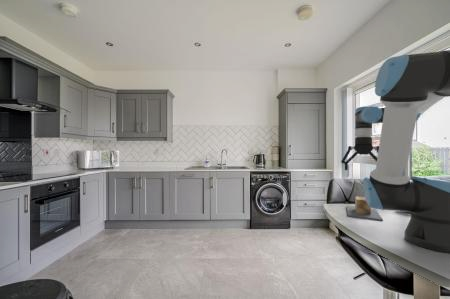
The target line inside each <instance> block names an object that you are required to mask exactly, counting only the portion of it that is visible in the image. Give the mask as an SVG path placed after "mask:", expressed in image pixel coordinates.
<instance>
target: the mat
mask: <svg viewBox="0 0 450 299" xmlns="http://www.w3.org/2000/svg"><path fill="white" fill-rule="evenodd" d="M345 208H346V213H347V217H349V218H357V219H366V220H370V221H371V220H372V221H380V222H383V220H384V219H383V218H382V216H381V215H380V213H379V212H378V209H375V208H371V215H367V214H359V213H356V210H355V206H351V205H346V206H345Z"/></svg>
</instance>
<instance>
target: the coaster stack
mask: <svg viewBox="0 0 450 299" xmlns="http://www.w3.org/2000/svg"><path fill="white" fill-rule="evenodd" d="M354 198H355V199H354V200H355V202H354V204H355V205H354V207H355V210H356V213H359V214H367V215H371V209H372V208H371V207H370V206H369V205H368V204H367V202H366V199H365V196H356V195H355V196H354Z"/></svg>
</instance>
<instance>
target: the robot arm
mask: <svg viewBox="0 0 450 299" xmlns="http://www.w3.org/2000/svg"><path fill="white" fill-rule="evenodd" d="M374 92H375V95H376V96H377V97H380V98H379V99H380V100H379V101H380V102H381V104H383V105H384V106H378V105H377V106H376V105H370V106H360V107H357V108H355V113H354V116H355V117H354V119H355V120H354V121H355V122H354V123H355V124H354V125H355V127H354V129H355V130H354V131H355V132H354V137H355V138H354V146H350V145H349V146H348V147H347V151H346V153H345V154H344V156H343V158H342V159H341V161H340V163H342V164H344V171H346V172H347V173H346V174H347V175H346V177H348V178H349V177H350V164H349V163H350V162H351V161H352V160H353V159H354V158H355V157H356V156H357V155H367V156H368V155H369V156H370V157H371V158H372V159H373V160H374V161H375V162H376V166H375V169H373V170H371V171H370V173H369V176H366V177H364V178H363V180H362V188H363V195H364V197H365V199H366V202H367V204H368V205H369V206H370V207H371V209H376V210H381V211H385V210H386V211H396V212H405V211H406V212H405V213H409V212H411V213H410V218H409V221H408V223H407V225H406V227H405V230H404V239H405V240H406V241H407V242H409V243H411V244H413V245H415V246H418V247H421V248H424V249H428V250H432V251H435V252H441V253H446V254H447V253H448V254H450V180H444V179H439V178H432V177H426V176H421V175H420V176H419V175H412V176H411V177H410V176H409V175H408V174H407V170H408V169H407V168H408V163H409V159H410V158H409V157H410V153H411V148H412V143H413V138H414V133H415V128H416V122H417V121H418V120H419V118H421V113H422V112H424V111H425V110H427V109H428V108H430V107H431V106H434V104H436V103H438V102H439V101H441V100H443V99H444V98H447V97H450V49H448V50H440V51H432V52H431V51H430V52H422V53H414V54H413V53H412V54H411V53H410V54H403V55H397V56H392V57H389V58H388V59H386V60H384V62H383V63H382V65H381V67H380V68H379V69H378V72H377V76H376V78H375V83H374ZM373 124H381V130H380V138H379V144H378V145H377V146H373V137H372V136H373ZM353 150H354V151H355V152H354V153H353V154H352V155H351V156H350V157H349V158H348V155H350V152H351V151H353ZM373 150H374V151H376V153H377V156H376V155H375V154H374V153H373V152H372V151H373ZM347 158H348V159H347Z"/></svg>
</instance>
